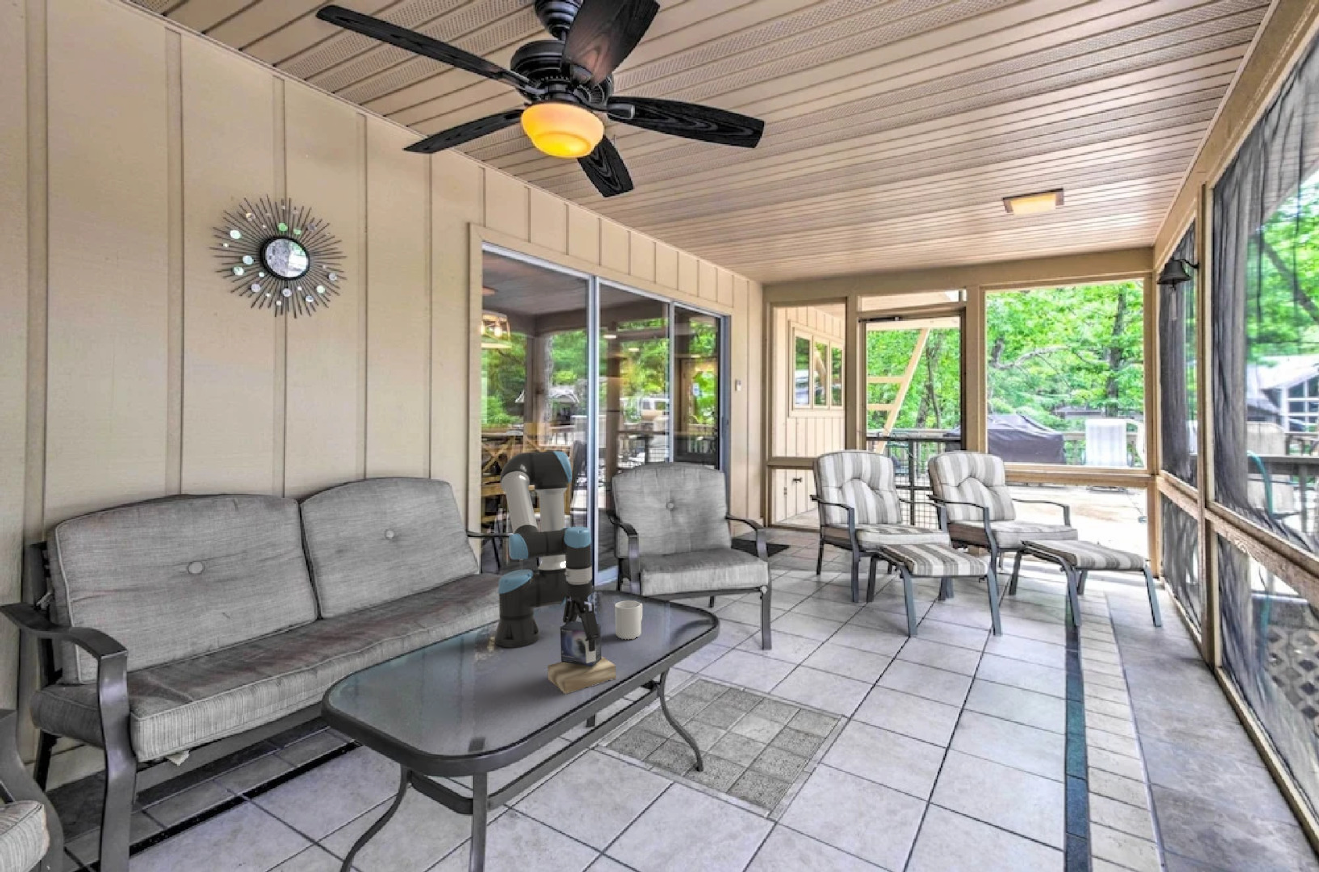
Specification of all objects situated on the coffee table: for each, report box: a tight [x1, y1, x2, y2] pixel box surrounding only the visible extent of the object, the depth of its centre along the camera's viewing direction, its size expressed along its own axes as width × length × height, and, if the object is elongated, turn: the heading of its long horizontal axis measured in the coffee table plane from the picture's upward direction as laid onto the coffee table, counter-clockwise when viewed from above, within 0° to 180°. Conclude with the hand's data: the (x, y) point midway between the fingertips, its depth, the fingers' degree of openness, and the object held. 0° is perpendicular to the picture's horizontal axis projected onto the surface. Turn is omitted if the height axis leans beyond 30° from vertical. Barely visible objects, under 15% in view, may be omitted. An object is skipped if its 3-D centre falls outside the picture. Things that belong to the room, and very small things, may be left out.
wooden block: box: [547, 655, 617, 695], centre depth 176 cm, size 12×16×4 cm
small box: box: [559, 620, 603, 667], centre depth 176 cm, size 11×6×10 cm, turn 68°
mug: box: [614, 600, 643, 641], centre depth 211 cm, size 12×9×11 cm
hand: (581, 654), depth 176 cm, fingers closed on small box, 12 cm apart
